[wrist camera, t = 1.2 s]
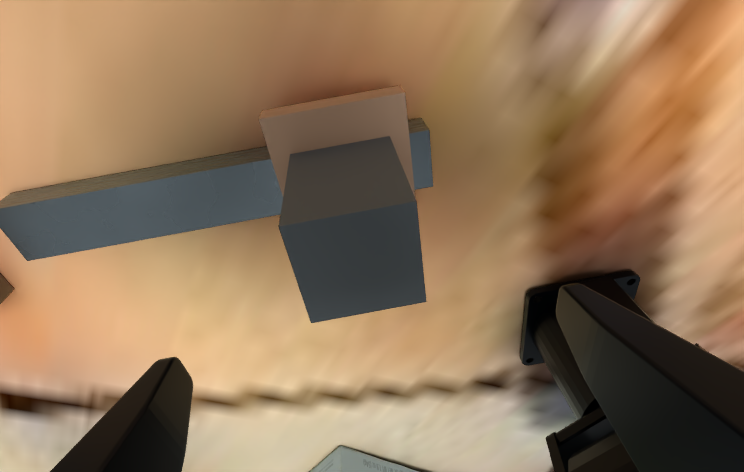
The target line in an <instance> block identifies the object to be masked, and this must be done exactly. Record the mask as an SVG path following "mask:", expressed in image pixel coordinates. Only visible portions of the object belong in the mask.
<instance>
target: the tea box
mask: <svg viewBox="0 0 744 472" xmlns="http://www.w3.org/2000/svg"><path fill="white" fill-rule="evenodd" d="M310 472H419V471H415V470H412V469H409V468H407V467H404V466H401V465H398V464H395V463H391V462H388V461H385V460H382V459H379V458H376V457H373V456H370V455H367V454H364V453H361V452H358V451H356V450H353V449H350V448H347V447H344V446H339V447H338V448H337V449H336V450H334V451H333V452H332V453H331V454H330V455H328V456H327V457H326V458H325V459H324V460H323V461H321V462H320V463H319V464H318V465H317V466H316V467H314V468H313V469H312V470H311V471H310Z"/></svg>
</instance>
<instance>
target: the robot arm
mask: <svg viewBox="0 0 744 472" xmlns="http://www.w3.org/2000/svg"><path fill="white" fill-rule="evenodd" d="M639 282H640V277H639V276H638V275H637V274H636V273H635V272H633V271H626V272H621V273H615V274H610V275H605V276H599V277H594V278H589V279H583V280H578V281H572V282H567V283H562V284H556V285H551V286H545V287H540V288H535V289H532V290H530V291H529V292H528V293H527V295H526V300H525V310H524V320H523V330H522V341H521V351H520V359H521V361H522V363H523V364H524V365H533V364H539V363H544V362H545V364H546V366H547V367H548V369H549V371H550V373H551V374H552V376H553V378H554V380H555V381H556V383H557V385H558V387H559V388H560V390H561V392H562V394H563V395H564V397H565V399H566V401H567V402H568V404H569V406H570V408H571V409H572V411H573V413H574V415H575V417H576V418H577V421H575V422H573V423H572V424H570V425H569V426H567V427H565V428H564V429H562V430H561V431H559V432H557V433H555V432H554V433H552V434H550V435H549V436H547V437H546V441H547V445H548V448H549V452H550V457H551V460H552V464H553V467H554V471H555V472H744V371H742V370H740V369H738V368H736V367H735V366H733V365H731V364H729V363H727V362H725V361H723V360H722V359H720V358H718V357H716V356H714V355H712V354H710V353H709V352H707V351H705V350H704V349H703V348H702V347H701V346H699V345H698V344H697V343H696V344H695V345H694V344H692V343H690V342H688V341H686V340H684V339H683V338H681V337H679V336H677V335H675V334H673V333H671V332H670V331H668V330H666V329H664V328H662V327H660V326H658V325H657V324H655V323H654V321H653V320H652V319H651V318H650V317H649V316H648V315H647V314H646V313H645V312H644V311H643V310H642V309H641V308H640V307H639V305H638V304H637V303H636V302H635V301H634V298H635V295H636V291H637V288H638V285H639ZM192 392H193V382H192V378H191V376H190V375H189V373H188V372H187V370H186V369H185V367H184V366H183V364H182V363H181V361H180V360H179V359H178V358H177V357H170V358H165V359H160V360H158V361H156V362H155V363H154V364H153V365H152V366H151V367H150V368H149V369H148V370H147V371H146V372H145V373H144V374H143V375H142V377H141V378H140V379H139V380H138V381H137V382H136V383H135V384H134V385H133V386H132V387H131V388H130V389H129V390H128V391H127V392H126V393H125V394H124V395H123V396H122V397H121V398H120V399H119V400H118V401H117V403H116V404H115V405H114V406H113V407H112V408H111V409H110V410H109V411H108V412H107V413H106V414H105V415H104V416H103V417H102V418H101V419H100V420H99V421H98V422H97V423H96V424H95V425H94V426H93V427H92V429H91V430H90V431H89V432H88V433H87V434H86V435H85V436H84V437H83V438H82V439H81V440H80V441H79V442H78V443H77V444H76V445H75V446H74V447H73V448H72V449H71V450H70V451H69V452H68V453H67V455H66V456H65V457H64V458H63V459H62V460H61V461H60V462H59V463H58V464H57V465H56V466H55V467H54V468H53V469H52V470H51V471H50V472H181V471H182V467H183V462H184V457H185V451H186V444H187V436H188V427H189V418H190V410H191V401H192Z"/></svg>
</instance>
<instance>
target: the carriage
mask: <svg viewBox="0 0 744 472" xmlns="http://www.w3.org/2000/svg"><path fill="white" fill-rule="evenodd" d="M259 122H260V125H261V129H262V132H263V135H264V138H265V141H266V144H267V148H268V151H269V154H270V157H271V160H272V164H273V167H274V170H275V173H276V176H277V179H278V183H279V186H280V189H281V192H282V195H283V202H282V208H281V214H280V220H279V229H280V232H281V235H282V238H283V241H284V244H285V247H286V250H287V253H288V256H289V259H290V262H291V265H292V268H293V271H294V274H295V277H296V280H297V283H298V286H299V289H300V292H301V295H302V297H303V300H304V303H305V306H306V309H307V312H308V315H309V318H310V321H311V323H315V322H320V321H325V320H331V319H336V318H342V317H347V316H352V315H358V314H363V313H369V312H374V311H379V310H385V309H390V308H395V307H401V306H406V305H412V304H417V303H422V302H426V294H425V284H424V273H423V263H422V253H421V242H420V232H419V222H418V211H417V201H416V199H415V189H414V179H413V169H412V158H411V148H410V138H409V128H408V118H407V107H406V97H405V92H404V90H403V89H402V87H401V86H400V85H399V86H393V87H388V88H382V89H377V90H371V91H366V92H360V93H355V94H349V95H344V96H338V97H333V98H327V99H322V100H316V101H311V102H305V103H300V104H294V105H289V106H283V107H278V108H273V109H267V110H262V112H261V114H260V117H259Z"/></svg>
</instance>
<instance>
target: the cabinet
mask: <svg viewBox="0 0 744 472" xmlns="http://www.w3.org/2000/svg"><path fill="white" fill-rule="evenodd" d="M13 290H14V288H13V287H12V286H11V285H10V284H9V283H8V282H7V281H6V279H5V278H4V277H3V276H2V275H1V274H0V304H1V303H2V302H3V301H4V300H5V299H6V298H7V297H8V296H9V294H10V293H11V292H12V291H13Z"/></svg>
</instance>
